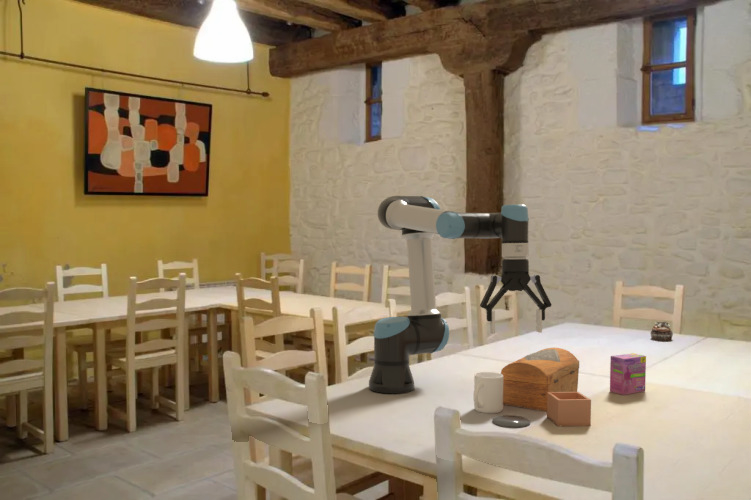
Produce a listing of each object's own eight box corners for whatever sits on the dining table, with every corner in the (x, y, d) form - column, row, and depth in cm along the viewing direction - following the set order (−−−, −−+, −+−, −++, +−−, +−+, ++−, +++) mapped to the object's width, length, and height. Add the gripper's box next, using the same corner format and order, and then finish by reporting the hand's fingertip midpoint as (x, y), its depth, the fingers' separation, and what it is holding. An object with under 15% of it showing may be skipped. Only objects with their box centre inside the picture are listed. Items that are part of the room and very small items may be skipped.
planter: (558, 426, 184) (558, 400, 183) (546, 416, 193) (547, 392, 192) (590, 425, 184) (591, 399, 184) (577, 416, 193) (578, 391, 193)
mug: (486, 418, 191) (487, 381, 191) (461, 413, 196) (462, 377, 196) (508, 409, 200) (508, 374, 200) (483, 404, 206) (484, 370, 205)
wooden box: (531, 385, 232) (532, 344, 232) (580, 392, 223) (581, 349, 222) (495, 404, 207) (495, 358, 207) (548, 412, 198) (548, 364, 198)
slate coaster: (498, 428, 182) (498, 425, 182) (488, 417, 192) (488, 415, 192) (535, 427, 183) (535, 425, 183) (523, 416, 193) (523, 414, 193)
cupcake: (646, 342, 321) (646, 320, 321) (665, 341, 322) (666, 320, 322) (656, 345, 312) (657, 323, 311) (676, 345, 313) (677, 323, 312)
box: (623, 395, 218) (623, 358, 218) (609, 391, 223) (609, 355, 223) (646, 391, 223) (646, 355, 223) (632, 388, 228) (632, 352, 228)
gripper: (475, 259, 192) (475, 335, 192) (562, 258, 194) (562, 333, 194) (469, 258, 199) (470, 331, 200) (553, 257, 201) (554, 329, 201)
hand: (515, 332), depth 197 cm, fingers open, 13 cm apart
